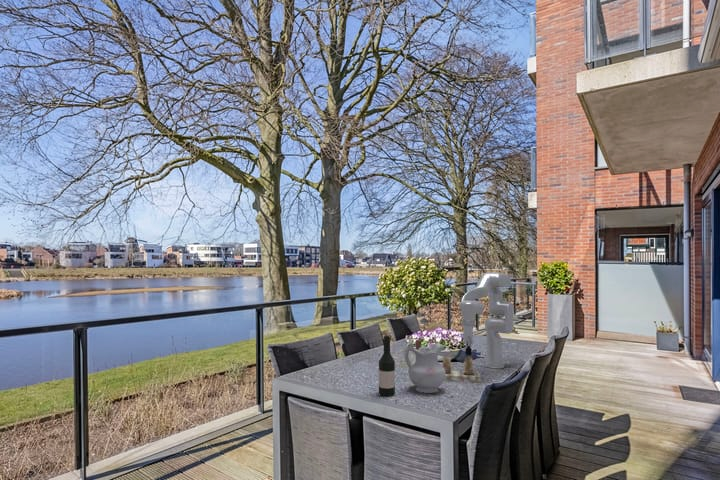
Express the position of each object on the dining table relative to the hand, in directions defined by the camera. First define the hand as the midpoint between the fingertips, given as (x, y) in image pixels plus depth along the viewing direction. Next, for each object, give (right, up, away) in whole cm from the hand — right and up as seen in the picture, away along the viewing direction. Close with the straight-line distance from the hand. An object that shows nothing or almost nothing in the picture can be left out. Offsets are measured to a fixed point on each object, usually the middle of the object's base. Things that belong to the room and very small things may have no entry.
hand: (468, 355), depth 248 cm
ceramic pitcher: (-29, -13, -22) cm, 38 cm away
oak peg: (0, -14, 0) cm, 14 cm away
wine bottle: (-49, -13, -29) cm, 59 cm away
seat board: (-6, -14, +1) cm, 15 cm away
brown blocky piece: (-24, -15, +20) cm, 35 cm away
